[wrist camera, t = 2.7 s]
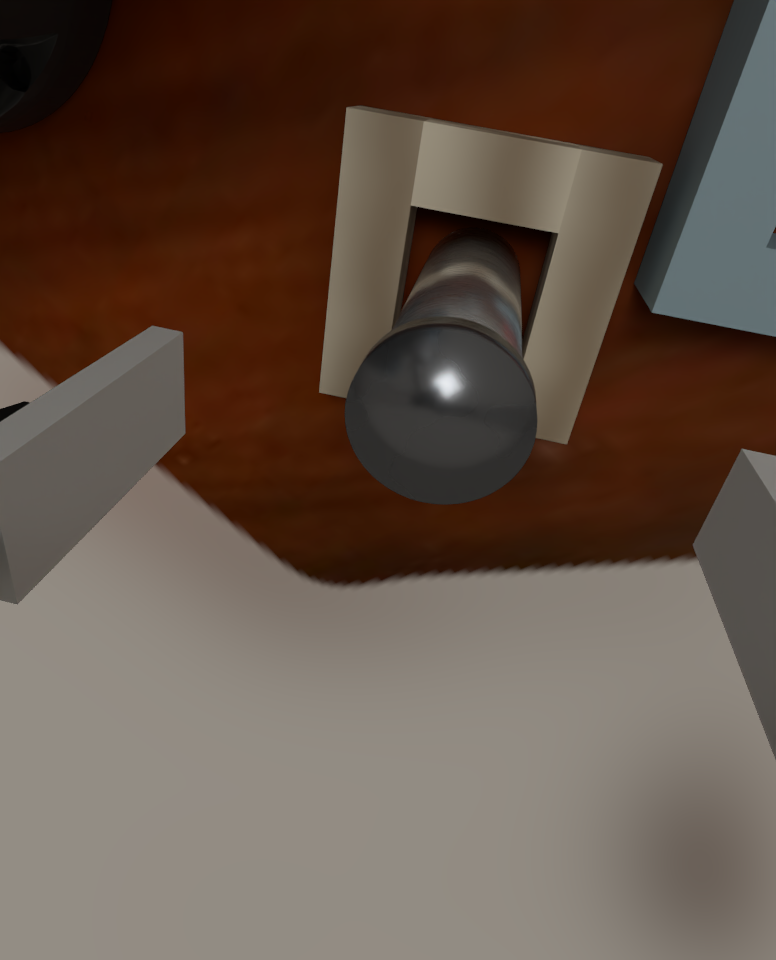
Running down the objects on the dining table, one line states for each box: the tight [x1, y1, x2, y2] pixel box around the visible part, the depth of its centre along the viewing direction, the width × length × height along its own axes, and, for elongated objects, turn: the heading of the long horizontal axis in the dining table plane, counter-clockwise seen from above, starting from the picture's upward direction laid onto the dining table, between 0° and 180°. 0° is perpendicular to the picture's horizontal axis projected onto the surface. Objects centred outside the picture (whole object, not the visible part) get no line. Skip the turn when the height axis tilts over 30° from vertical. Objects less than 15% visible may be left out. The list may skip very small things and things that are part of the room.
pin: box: [345, 227, 538, 504], centre depth 21 cm, size 5×5×14 cm
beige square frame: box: [319, 106, 663, 444], centre depth 26 cm, size 11×11×2 cm
